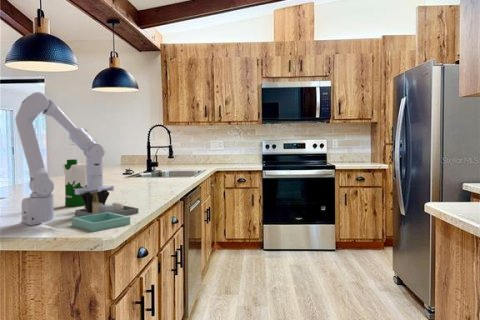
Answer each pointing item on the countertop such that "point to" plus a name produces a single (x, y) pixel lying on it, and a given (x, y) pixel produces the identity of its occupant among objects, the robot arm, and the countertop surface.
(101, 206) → the light gray rectangular block
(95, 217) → the dish
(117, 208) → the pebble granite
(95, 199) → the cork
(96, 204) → the tan rectangular block
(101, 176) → the robot arm
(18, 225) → the countertop surface
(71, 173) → the milk carton
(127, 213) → the tray
